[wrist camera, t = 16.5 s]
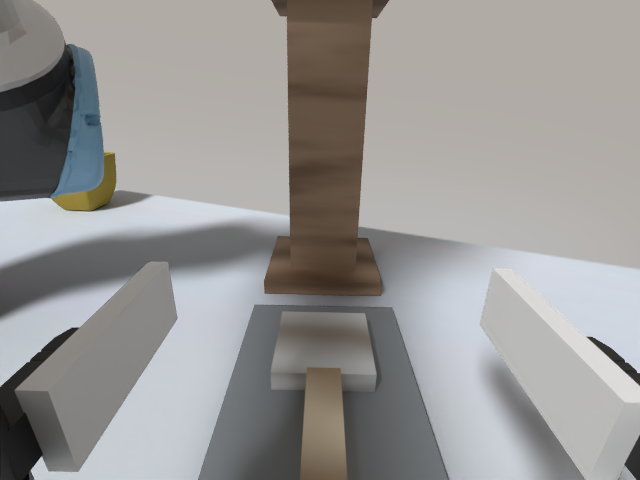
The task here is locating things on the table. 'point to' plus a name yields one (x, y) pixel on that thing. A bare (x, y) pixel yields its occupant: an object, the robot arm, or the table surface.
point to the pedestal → (326, 150)
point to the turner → (323, 381)
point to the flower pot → (94, 196)
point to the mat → (288, 411)
